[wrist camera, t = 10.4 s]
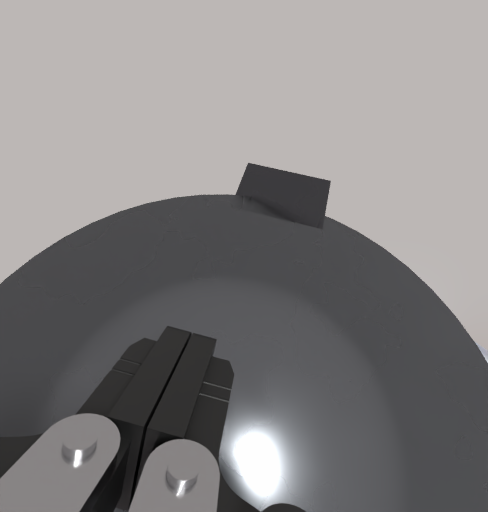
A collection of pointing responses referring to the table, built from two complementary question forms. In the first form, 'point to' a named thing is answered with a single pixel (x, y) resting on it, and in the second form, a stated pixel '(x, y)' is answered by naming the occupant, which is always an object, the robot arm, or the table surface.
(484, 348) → the table surface
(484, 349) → the table surface
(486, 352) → the table surface
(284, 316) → the lid
